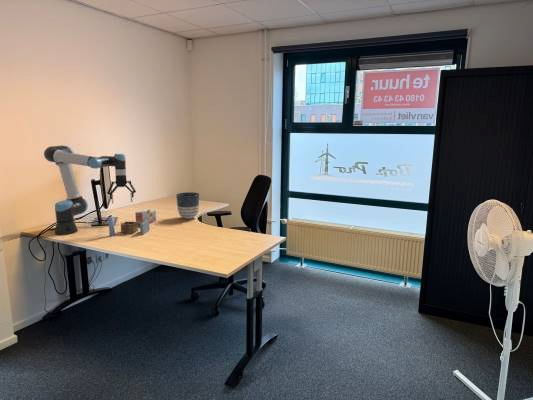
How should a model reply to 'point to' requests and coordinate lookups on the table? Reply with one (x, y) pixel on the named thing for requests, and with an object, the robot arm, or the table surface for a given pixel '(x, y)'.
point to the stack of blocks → (145, 216)
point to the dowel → (111, 226)
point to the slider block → (129, 227)
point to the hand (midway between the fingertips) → (122, 202)
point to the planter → (187, 204)
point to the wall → (144, 227)
